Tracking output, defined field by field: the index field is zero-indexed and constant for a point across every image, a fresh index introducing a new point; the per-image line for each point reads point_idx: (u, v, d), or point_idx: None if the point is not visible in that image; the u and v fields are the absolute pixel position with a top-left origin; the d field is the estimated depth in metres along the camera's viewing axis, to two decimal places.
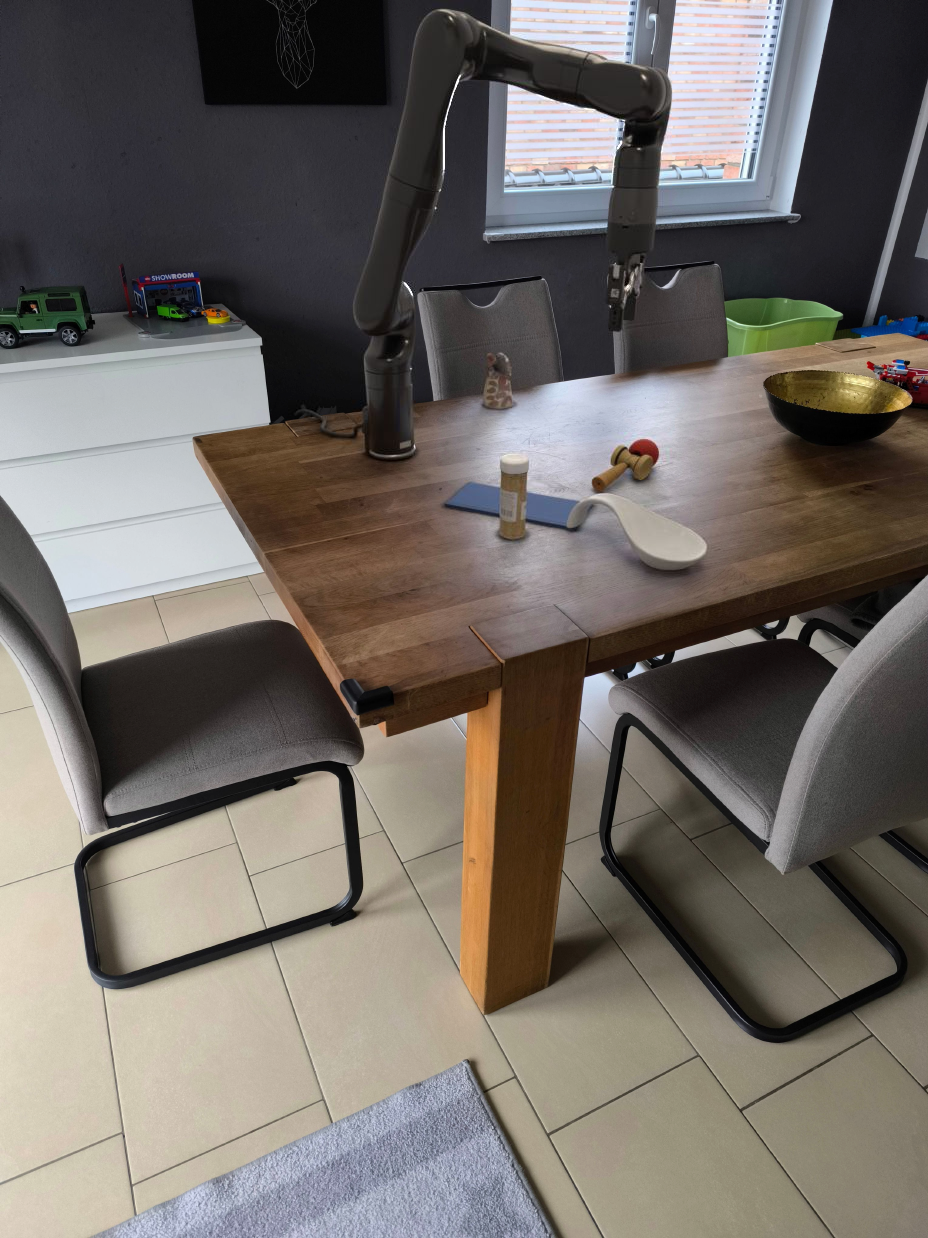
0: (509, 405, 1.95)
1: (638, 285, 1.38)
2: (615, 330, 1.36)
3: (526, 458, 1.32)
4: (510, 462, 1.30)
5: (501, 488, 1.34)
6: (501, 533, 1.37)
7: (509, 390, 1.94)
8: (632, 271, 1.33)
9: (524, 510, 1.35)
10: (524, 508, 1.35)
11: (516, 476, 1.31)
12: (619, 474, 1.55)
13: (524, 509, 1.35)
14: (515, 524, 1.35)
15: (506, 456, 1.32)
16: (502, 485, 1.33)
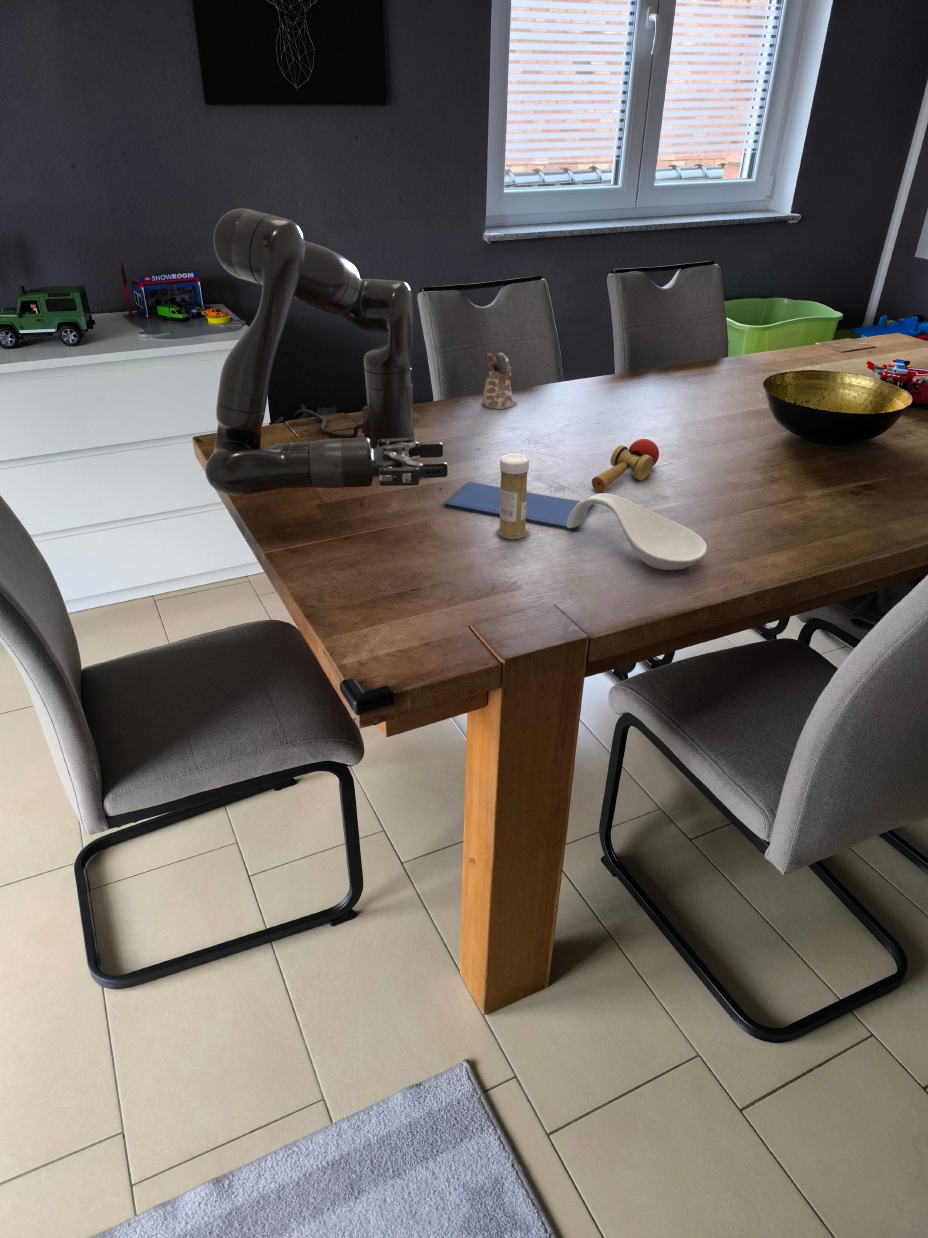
0: (509, 405, 1.95)
1: None
2: None
3: (526, 458, 1.32)
4: (510, 462, 1.30)
5: (501, 488, 1.34)
6: (501, 533, 1.37)
7: (509, 390, 1.94)
8: None
9: (524, 510, 1.35)
10: (524, 508, 1.35)
11: (516, 476, 1.31)
12: (619, 474, 1.55)
13: (524, 509, 1.35)
14: (515, 524, 1.35)
15: (506, 456, 1.32)
16: (502, 485, 1.33)
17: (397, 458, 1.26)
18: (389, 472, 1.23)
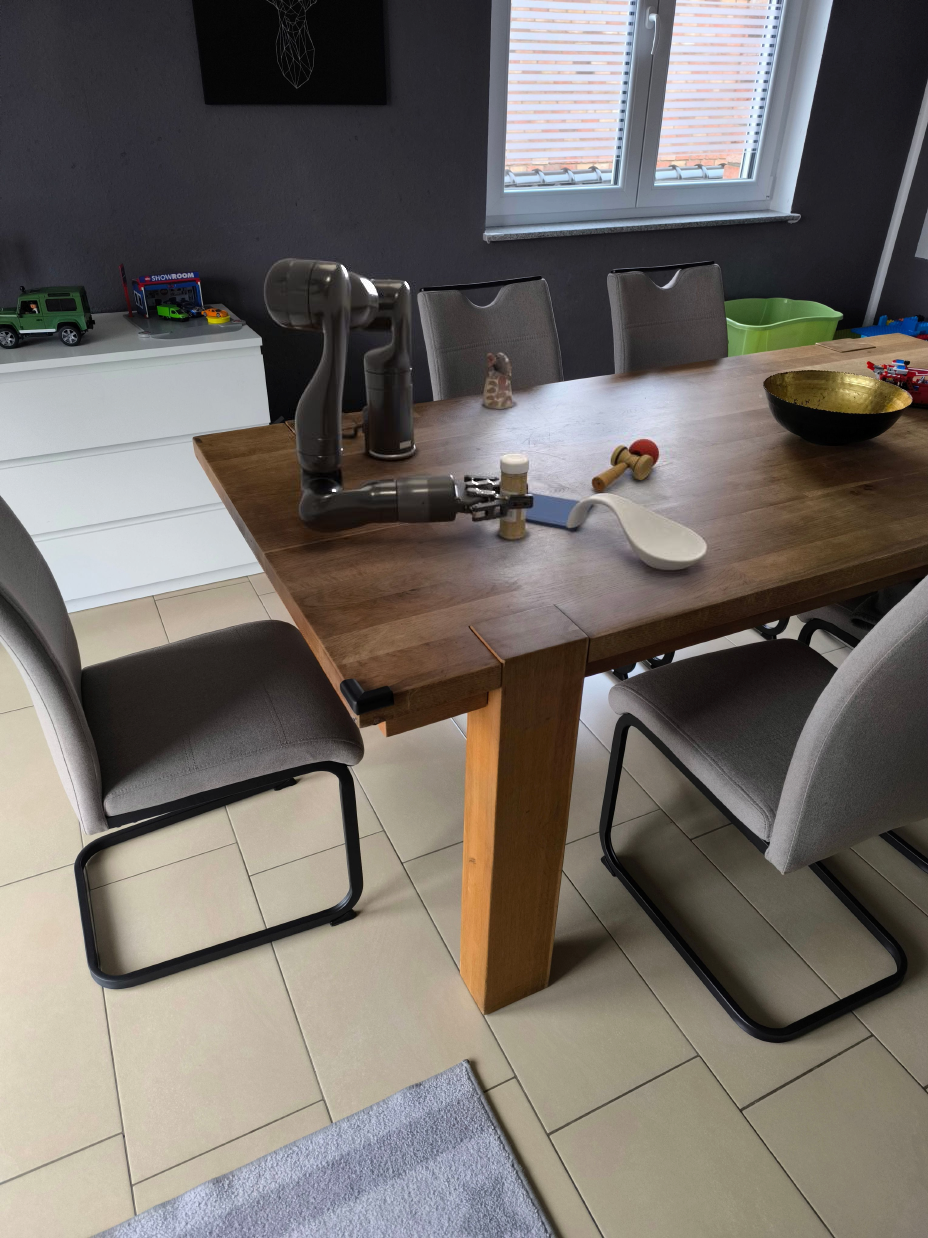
0: (509, 405, 1.95)
1: None
2: None
3: (526, 458, 1.32)
4: (510, 462, 1.30)
5: (501, 488, 1.34)
6: (501, 533, 1.37)
7: (509, 390, 1.94)
8: None
9: (524, 510, 1.35)
10: None
11: (516, 476, 1.31)
12: (619, 474, 1.55)
13: (524, 509, 1.35)
14: (515, 524, 1.35)
15: (506, 456, 1.32)
16: (502, 485, 1.33)
17: (484, 493, 1.32)
18: (483, 508, 1.29)
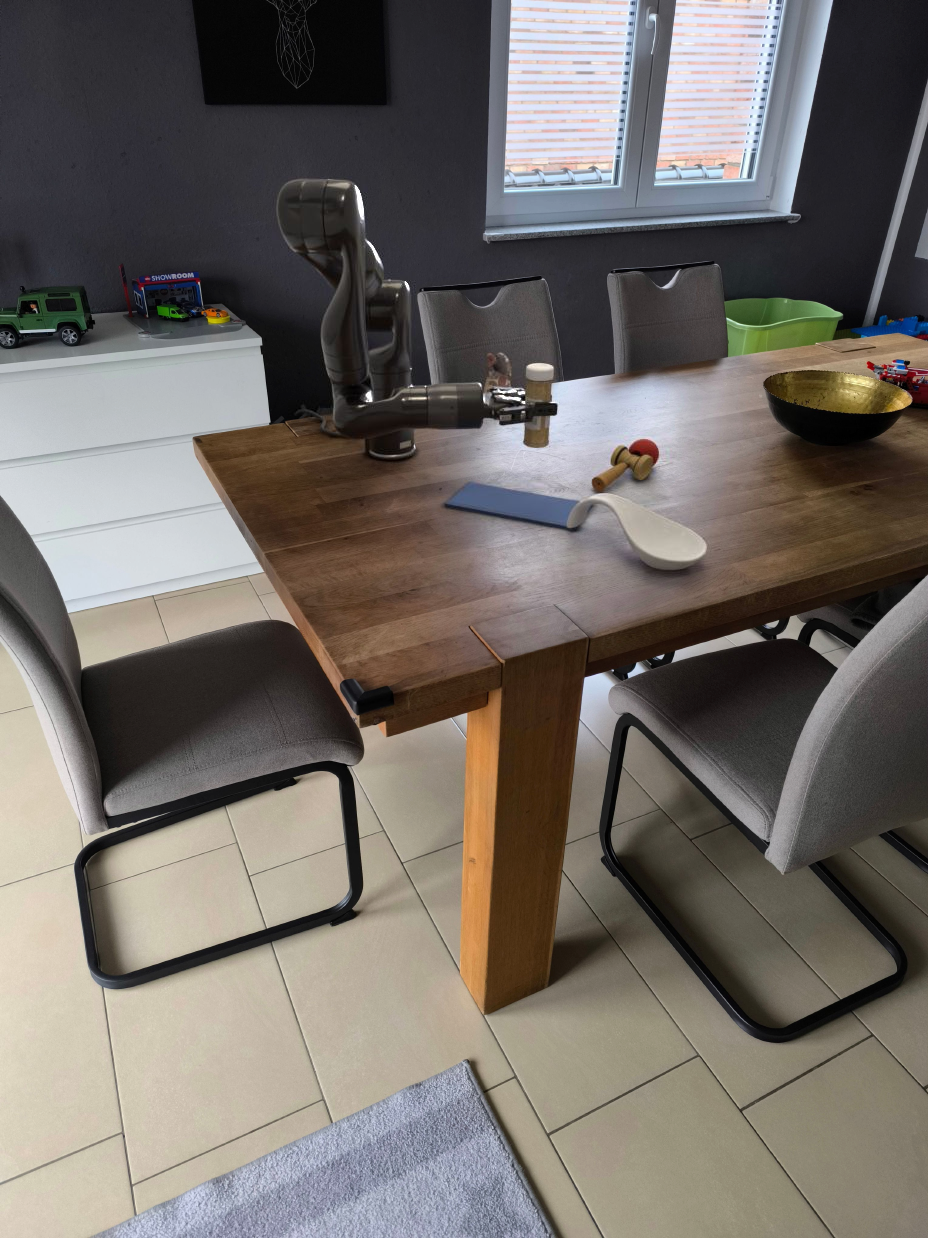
0: None
1: None
2: None
3: (551, 366, 1.37)
4: (536, 369, 1.36)
5: (526, 396, 1.39)
6: (525, 442, 1.43)
7: None
8: None
9: (548, 418, 1.41)
10: (548, 416, 1.40)
11: (541, 383, 1.36)
12: (619, 474, 1.55)
13: (548, 417, 1.40)
14: (539, 432, 1.41)
15: (532, 364, 1.38)
16: (527, 393, 1.39)
17: (510, 400, 1.37)
18: (510, 411, 1.34)
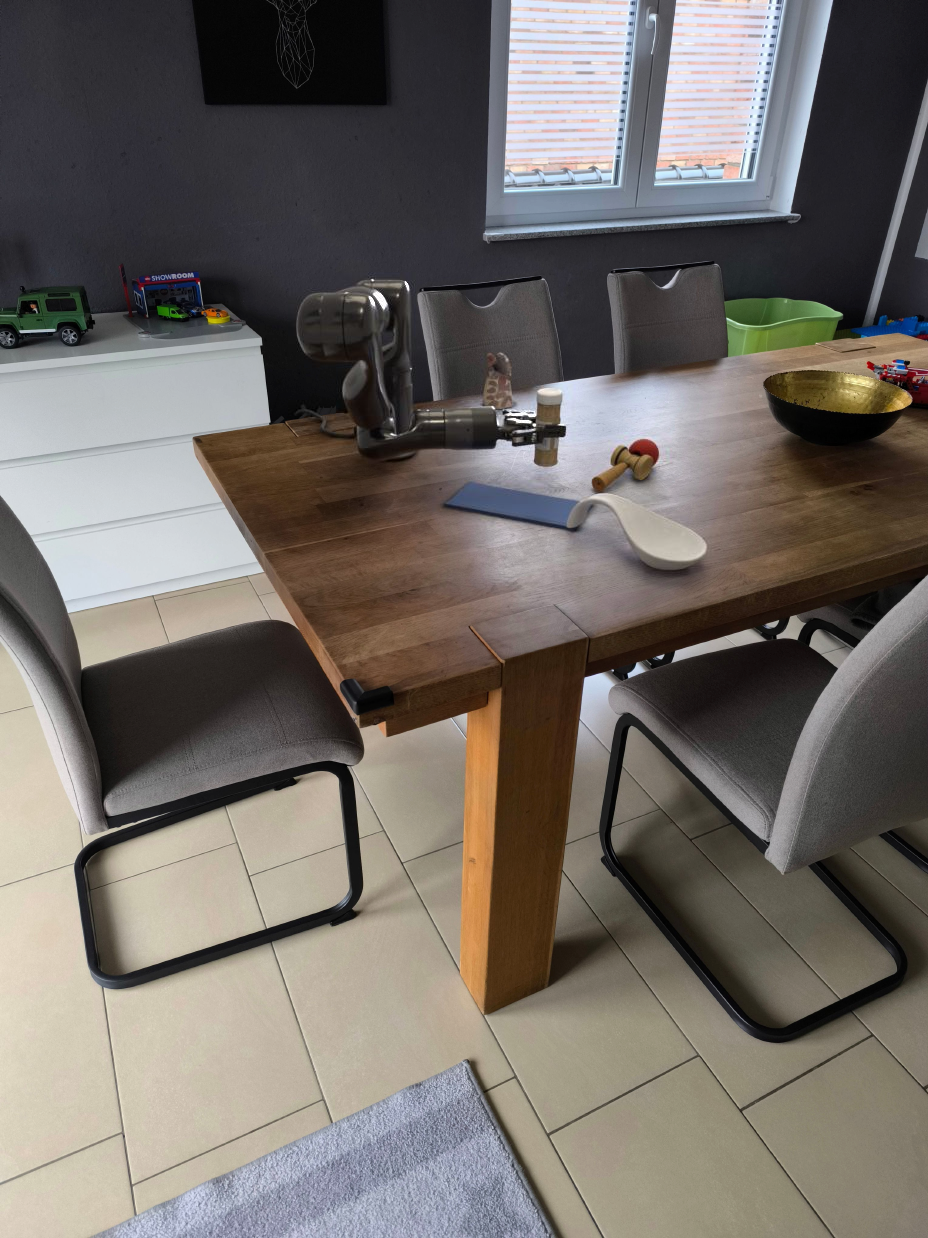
0: (509, 405, 1.95)
1: None
2: None
3: (560, 391, 1.47)
4: (546, 394, 1.45)
5: (537, 419, 1.49)
6: (535, 461, 1.53)
7: (509, 390, 1.94)
8: None
9: (557, 439, 1.50)
10: (557, 438, 1.50)
11: (551, 407, 1.46)
12: (619, 474, 1.55)
13: (557, 439, 1.50)
14: (549, 453, 1.51)
15: (542, 389, 1.47)
16: (538, 416, 1.48)
17: (522, 422, 1.47)
18: (522, 434, 1.44)
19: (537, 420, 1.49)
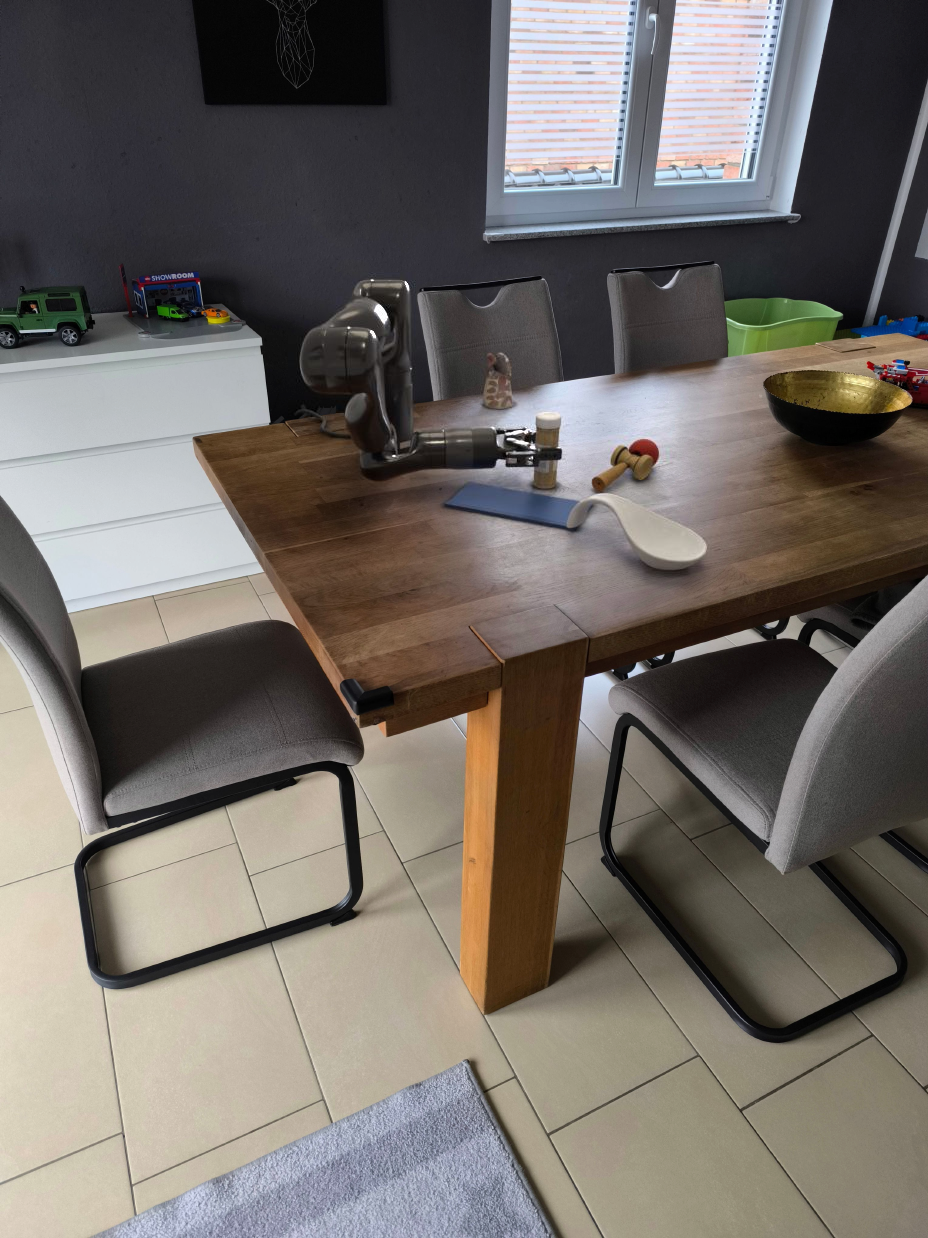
0: (509, 405, 1.95)
1: None
2: None
3: (559, 415, 1.49)
4: (545, 418, 1.48)
5: (536, 442, 1.51)
6: (535, 483, 1.55)
7: (509, 390, 1.94)
8: None
9: (556, 462, 1.53)
10: (556, 460, 1.52)
11: (550, 431, 1.49)
12: (619, 474, 1.55)
13: (556, 461, 1.52)
14: (548, 475, 1.53)
15: (541, 413, 1.50)
16: (537, 439, 1.51)
17: (519, 444, 1.48)
18: (515, 455, 1.45)
19: (536, 443, 1.51)
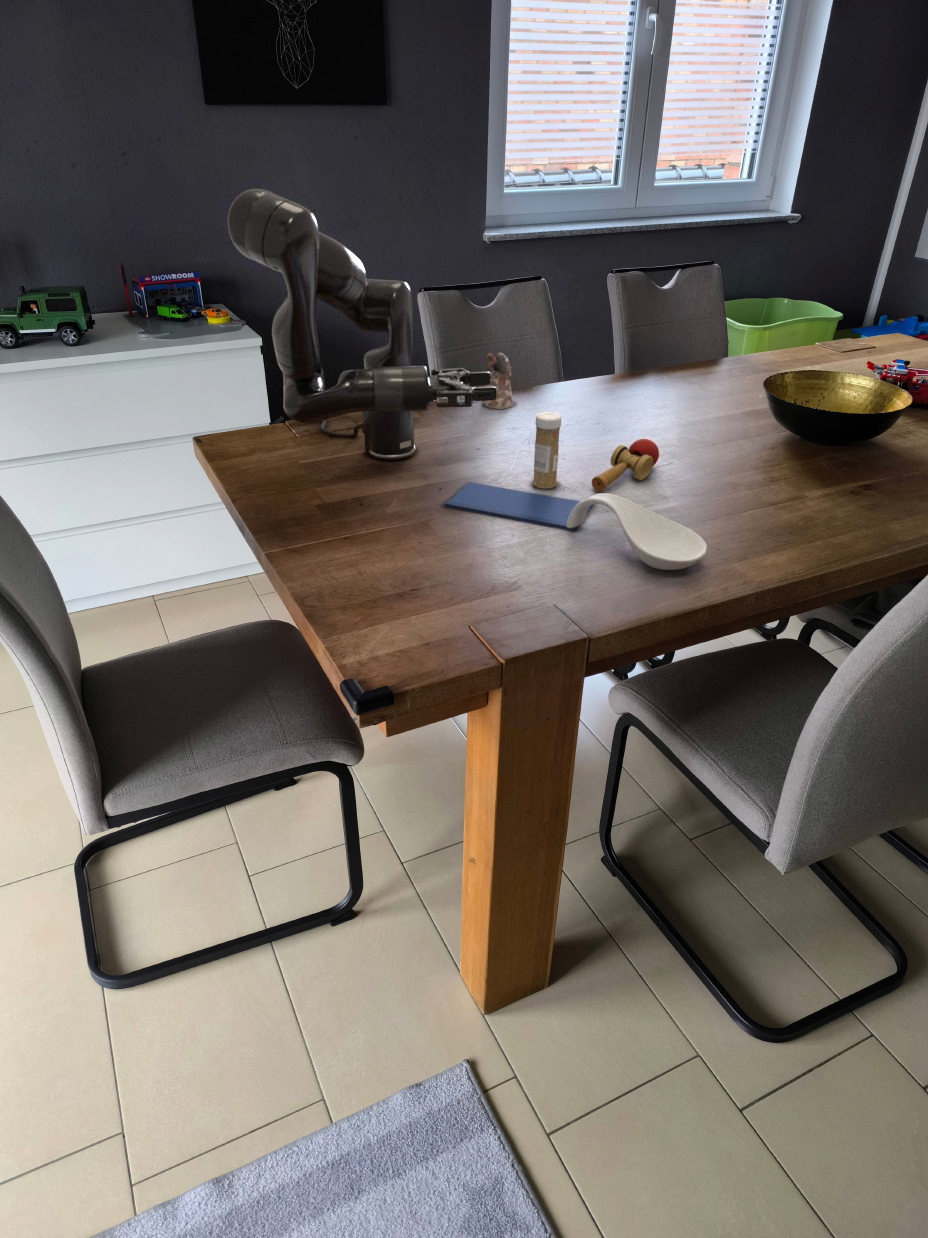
0: (509, 405, 1.95)
1: None
2: None
3: (559, 415, 1.49)
4: (545, 418, 1.48)
5: (536, 442, 1.51)
6: (535, 483, 1.55)
7: (509, 390, 1.94)
8: None
9: (556, 462, 1.53)
10: (556, 460, 1.52)
11: (550, 431, 1.48)
12: (619, 474, 1.55)
13: (556, 461, 1.52)
14: (547, 475, 1.53)
15: (541, 413, 1.50)
16: (537, 439, 1.51)
17: (451, 383, 1.41)
18: (445, 394, 1.39)
19: (536, 443, 1.51)
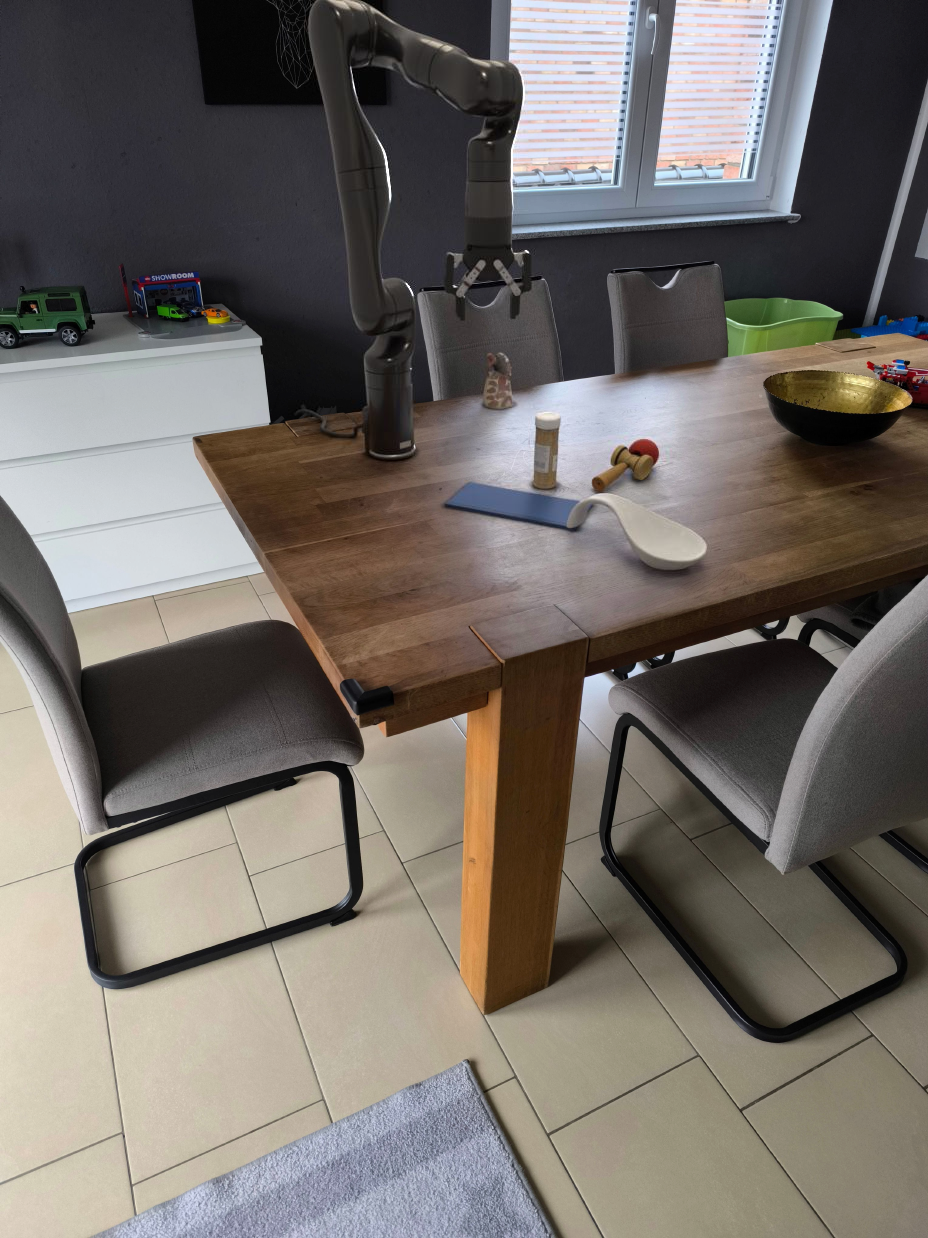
0: (509, 405, 1.95)
1: None
2: (460, 318, 1.39)
3: (558, 415, 1.49)
4: (544, 419, 1.48)
5: (535, 442, 1.51)
6: (534, 483, 1.55)
7: (509, 390, 1.94)
8: (476, 264, 1.34)
9: (555, 462, 1.52)
10: (555, 461, 1.52)
11: (549, 431, 1.48)
12: (619, 474, 1.55)
13: (555, 461, 1.52)
14: (547, 475, 1.53)
15: (541, 414, 1.50)
16: (536, 439, 1.51)
17: None
18: None
19: (536, 443, 1.51)
